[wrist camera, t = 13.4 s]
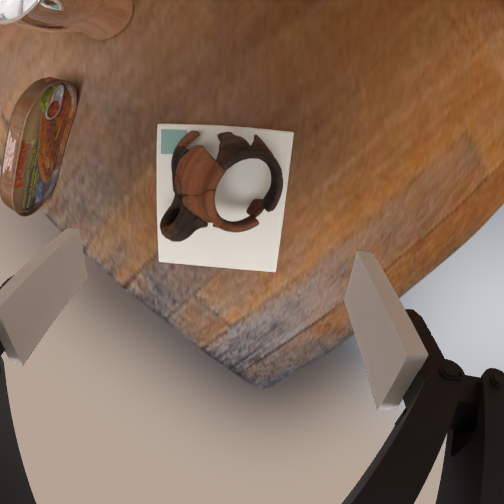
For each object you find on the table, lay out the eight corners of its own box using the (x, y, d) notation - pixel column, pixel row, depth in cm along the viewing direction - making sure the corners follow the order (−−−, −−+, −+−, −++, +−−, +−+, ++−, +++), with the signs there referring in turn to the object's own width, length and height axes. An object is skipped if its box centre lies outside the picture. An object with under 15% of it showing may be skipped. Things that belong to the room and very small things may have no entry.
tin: (53, 202, 33) (12, 230, 26) (34, 193, 33) (-7, 218, 25) (87, 81, 27) (42, 82, 20) (66, 74, 26) (19, 75, 19)
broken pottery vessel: (204, 100, 27) (248, 114, 22) (262, 155, 34) (310, 183, 28) (124, 199, 29) (144, 243, 23) (192, 240, 35) (225, 284, 30)
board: (292, 131, 30) (294, 133, 28) (275, 266, 36) (275, 273, 35) (161, 123, 29) (156, 124, 28) (161, 256, 36) (158, 263, 35)
